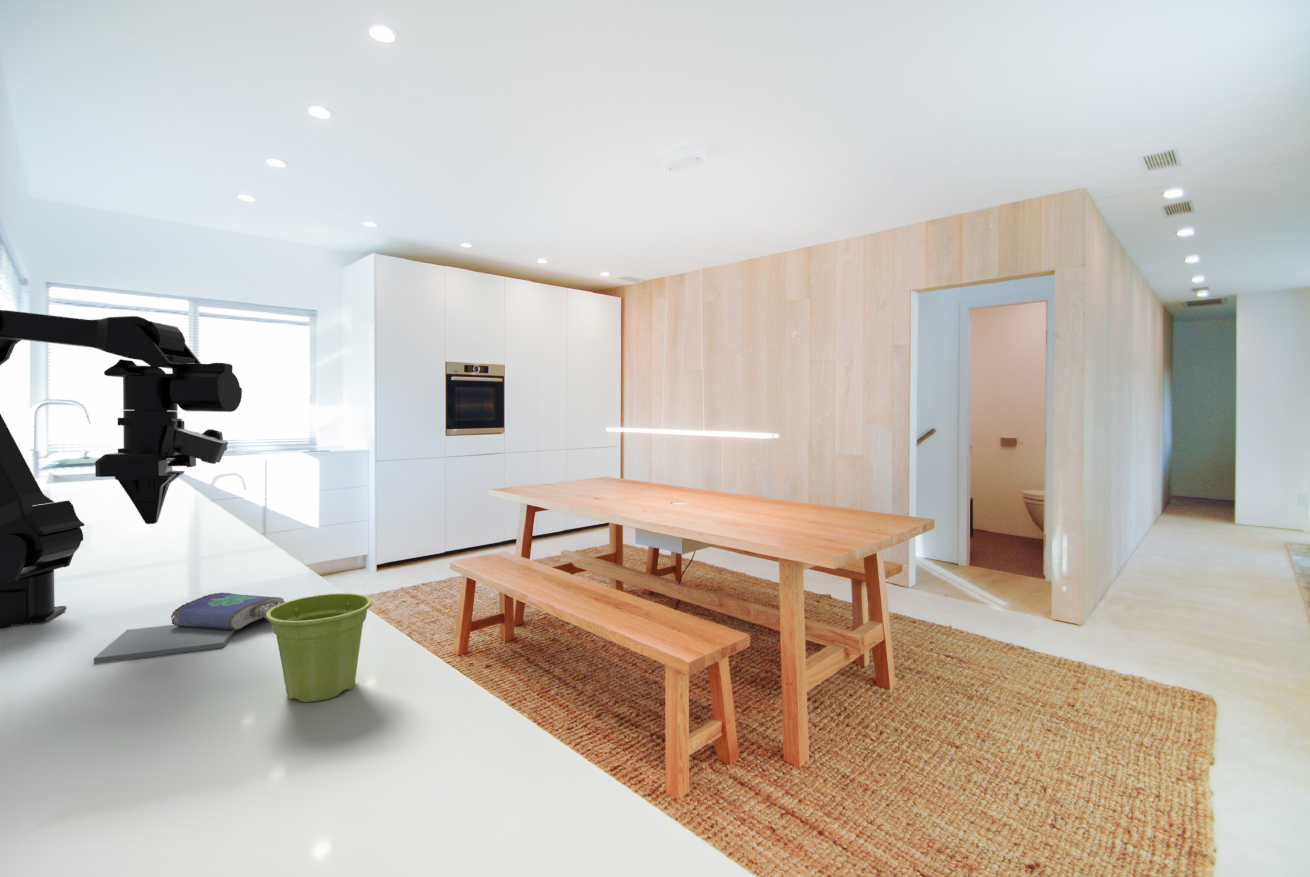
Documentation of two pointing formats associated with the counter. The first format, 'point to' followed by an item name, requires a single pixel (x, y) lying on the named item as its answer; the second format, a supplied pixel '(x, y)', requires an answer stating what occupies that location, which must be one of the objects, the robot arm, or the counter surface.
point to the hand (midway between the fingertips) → (151, 523)
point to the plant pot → (319, 643)
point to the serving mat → (163, 642)
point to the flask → (224, 610)
